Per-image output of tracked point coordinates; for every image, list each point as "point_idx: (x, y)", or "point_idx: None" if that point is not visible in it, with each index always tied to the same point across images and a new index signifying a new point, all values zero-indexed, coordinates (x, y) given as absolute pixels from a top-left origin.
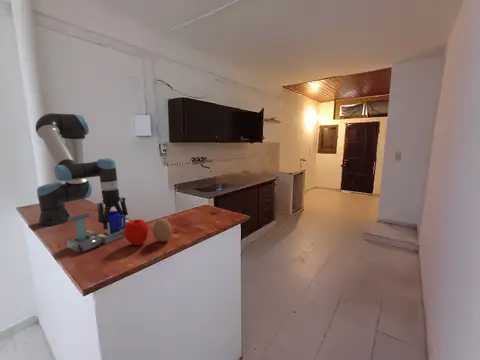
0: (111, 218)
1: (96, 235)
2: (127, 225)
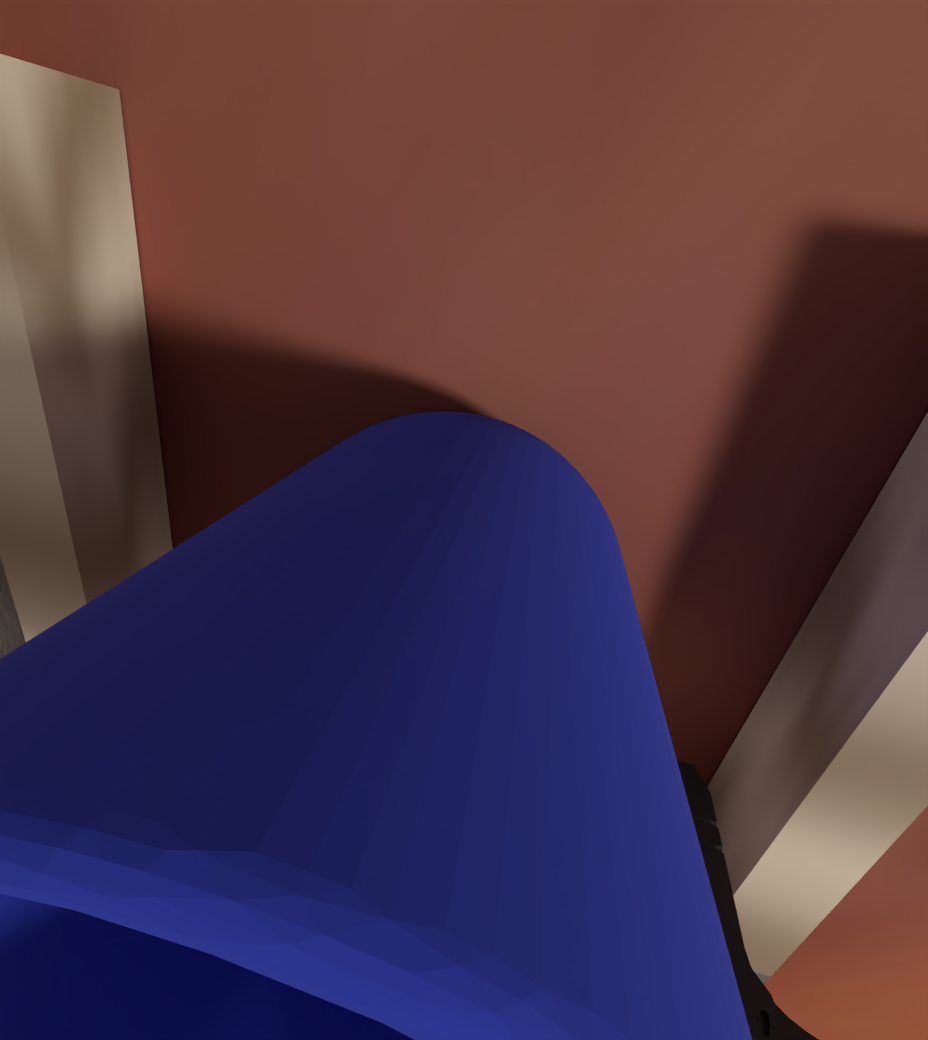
0: (153, 1029)
1: (20, 596)
2: None
